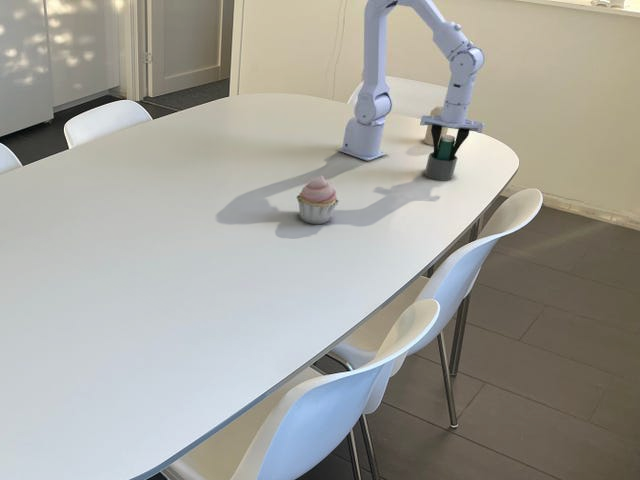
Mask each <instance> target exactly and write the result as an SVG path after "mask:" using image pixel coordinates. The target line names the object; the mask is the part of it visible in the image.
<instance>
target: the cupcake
mask: <svg viewBox="0 0 640 480" xmlns="http://www.w3.org/2000/svg"><path fill="white" fill-rule="evenodd" d="M295 197H296V200H297V202H298V208H299V216H300V219H301V220H302V221H303V222H305V223H307V224H312V225H323V224H326V223H328V222H329V220H330V218H331V216H332V214H333V211H334V210H335V208H336V206H337V205H338V204H339V203H340V200H339V199H337V198H338V196H337V191H336V190H335V187H334V185H333V184H332V183H330V182H328V181H326V179H325V177H324V176H323V175H319V176H316V177H314V178H312V179H311V180H310V181H309V182H308V183H307V184H305V186H304V187H302V189H301V192H299V193H298V195H296V196H295Z"/></svg>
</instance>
